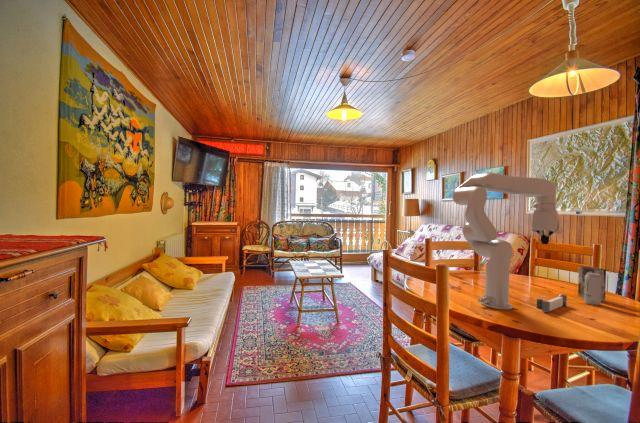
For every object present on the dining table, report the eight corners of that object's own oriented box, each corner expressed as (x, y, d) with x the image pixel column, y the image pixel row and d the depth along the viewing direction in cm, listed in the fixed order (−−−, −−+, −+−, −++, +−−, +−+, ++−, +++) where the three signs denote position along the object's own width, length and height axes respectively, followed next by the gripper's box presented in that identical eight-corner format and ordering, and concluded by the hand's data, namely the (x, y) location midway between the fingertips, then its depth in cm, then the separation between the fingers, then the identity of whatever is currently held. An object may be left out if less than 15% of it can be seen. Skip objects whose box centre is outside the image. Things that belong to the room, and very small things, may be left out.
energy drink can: (581, 301, 143) (582, 271, 143) (596, 302, 142) (597, 272, 141) (588, 304, 138) (589, 274, 138) (603, 306, 136) (604, 275, 136)
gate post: (563, 306, 134) (563, 296, 134) (556, 304, 137) (557, 294, 137) (568, 306, 135) (568, 295, 135) (561, 304, 138) (561, 294, 138)
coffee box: (606, 301, 144) (607, 269, 144) (593, 301, 144) (594, 269, 144) (589, 295, 153) (590, 266, 153) (577, 295, 153) (578, 266, 153)
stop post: (540, 309, 130) (540, 300, 130) (535, 307, 133) (535, 299, 133) (544, 308, 131) (544, 300, 131) (539, 307, 133) (539, 298, 133)
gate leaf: (542, 311, 127) (542, 301, 126) (558, 304, 136) (558, 295, 136) (547, 312, 125) (547, 302, 125) (563, 305, 134) (563, 296, 134)
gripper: (525, 207, 144) (524, 242, 144) (562, 207, 132) (561, 246, 132) (530, 207, 149) (530, 242, 149) (567, 207, 136) (566, 245, 137)
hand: (544, 243), depth 141 cm, fingers closed
